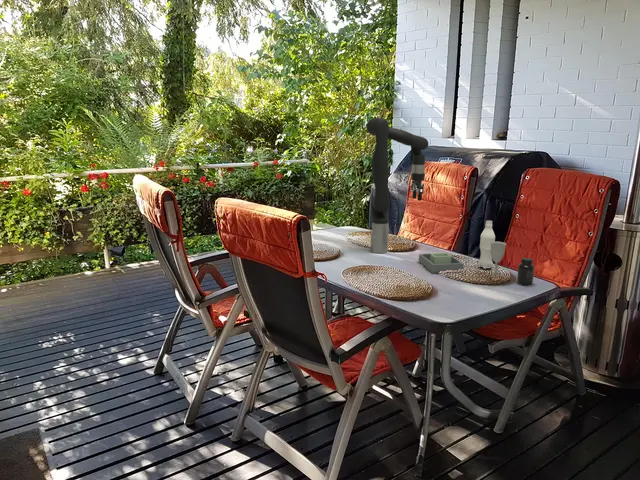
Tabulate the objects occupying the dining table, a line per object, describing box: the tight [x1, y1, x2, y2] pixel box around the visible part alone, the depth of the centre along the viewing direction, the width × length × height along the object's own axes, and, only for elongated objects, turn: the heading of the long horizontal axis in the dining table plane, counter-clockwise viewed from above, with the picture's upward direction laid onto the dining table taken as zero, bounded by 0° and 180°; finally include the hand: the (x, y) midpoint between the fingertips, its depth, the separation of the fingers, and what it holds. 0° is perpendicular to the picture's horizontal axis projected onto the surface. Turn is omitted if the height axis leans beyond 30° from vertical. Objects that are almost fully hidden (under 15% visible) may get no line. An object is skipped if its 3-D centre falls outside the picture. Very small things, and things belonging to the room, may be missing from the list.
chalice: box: [490, 241, 507, 276], centre depth 233 cm, size 7×7×18 cm
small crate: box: [429, 252, 452, 264], centre depth 254 cm, size 9×6×6 cm, turn 99°
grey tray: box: [418, 252, 464, 275], centre depth 254 cm, size 16×20×4 cm
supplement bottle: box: [516, 257, 535, 286], centre depth 228 cm, size 7×7×12 cm
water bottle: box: [477, 220, 496, 268], centre depth 249 cm, size 7×7×25 cm
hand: (416, 199), depth 290 cm, fingers open, 8 cm apart
